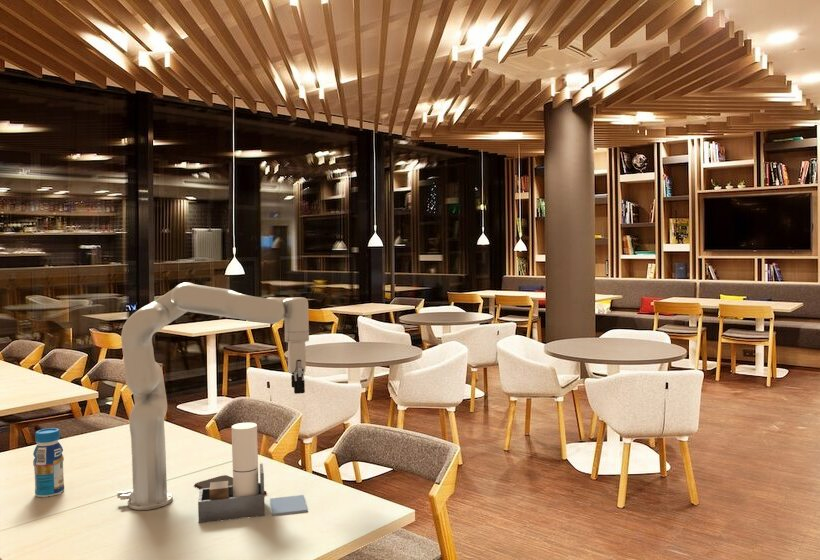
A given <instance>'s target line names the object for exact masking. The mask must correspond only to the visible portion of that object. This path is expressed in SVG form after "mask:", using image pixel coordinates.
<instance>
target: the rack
mask: <svg viewBox="0 0 820 560" xmlns="http://www.w3.org/2000/svg"><path fill="white" fill-rule="evenodd" d="M264 473H265V472H264V464H263V463H259V482H258V485H259V495H250V496H240V497H233V486H228V492H229V498H221V499H212V500H210V491H209V489H210V488H203V489H199V494H198V500H197V509H198V510H197V511H198V512H197V513H198V517H197V518H198V524H203V523H213V522H221V520H223V521H230V520H229V519H231V520H239V518H240V519H247V518H248V517H249V518H255V517H256V516H257V517H265V516H266V513H265V512H266V508H265V507H266V506H265V505H266V504H265V501H266V500H265V495H264V491H265V476H264V475H265V474H264ZM264 515H265V516H264ZM257 517H256V518H257Z"/></svg>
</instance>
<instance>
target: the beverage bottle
mask: <svg viewBox="0 0 820 560" xmlns="http://www.w3.org/2000/svg"><path fill="white" fill-rule="evenodd" d="M60 435H61V431H60V429H59V428H57V427H56V428H55V427H51V428H49V427H48V428H42V429H39V430H37V431H36V432H35V434H34V437H35V443H36V444H37V445H36V446H35V448H34V450H33V454H32V455H33V457H34V459H33V462H32V463H33V467H34V470H33V472H34V495H35V496H36V497H39V498H49V497H48V496H50V497H54V495H55V496H57V495H61V494H62V493H63V492H64V491H65V480H64V459H65V456H64V455H63V451H64V449H63V446H62V444H61V443H60V442H59V441H60V438H61V436H60Z"/></svg>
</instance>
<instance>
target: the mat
mask: <svg viewBox="0 0 820 560" xmlns="http://www.w3.org/2000/svg"><path fill="white" fill-rule="evenodd" d="M269 502H270V510H271V516H273V515H275V516H281V515H282V514H283V515H289V514H290V513H292V514H298V513H299V512H301V513H307V512H308V507H307V503H306V500H305V495H304V494H299V495H289V496H283V497H282V496H281V497H272V498H269ZM299 514H300V513H299ZM283 515H282V516H283Z"/></svg>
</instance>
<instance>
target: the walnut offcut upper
mask: <svg viewBox="0 0 820 560" xmlns="http://www.w3.org/2000/svg"><path fill="white" fill-rule="evenodd" d="M209 491H210V500H212V499H221V498H228V495H229V492H228V481H220V482H210V489H209Z"/></svg>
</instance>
